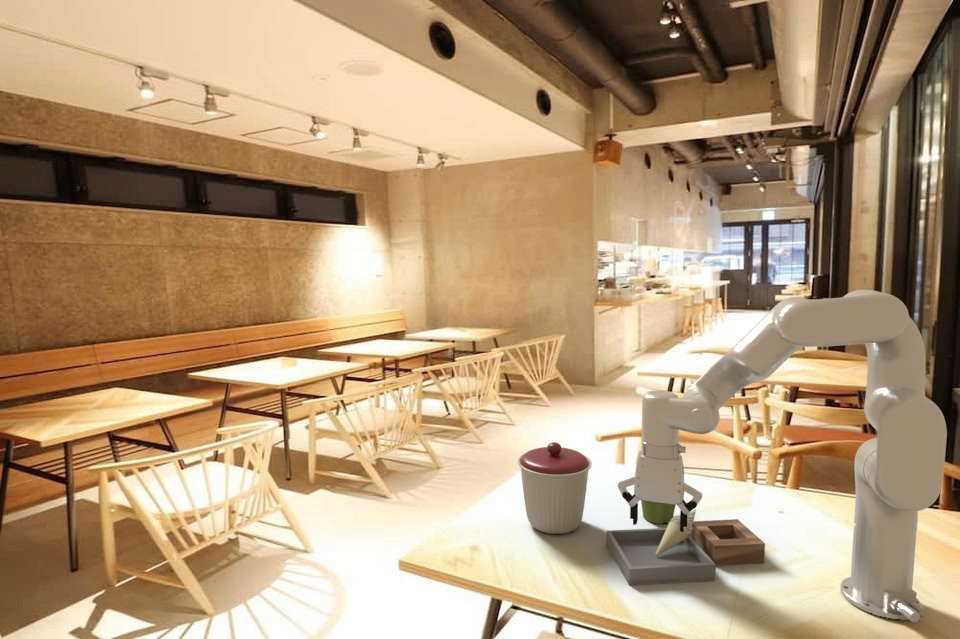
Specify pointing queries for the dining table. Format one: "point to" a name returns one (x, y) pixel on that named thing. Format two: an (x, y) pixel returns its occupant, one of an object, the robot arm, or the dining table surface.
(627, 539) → the grey tray
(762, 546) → the cone stand
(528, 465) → the canister
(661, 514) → the plant pot
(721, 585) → the dining table surface
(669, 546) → the ice cream cone
